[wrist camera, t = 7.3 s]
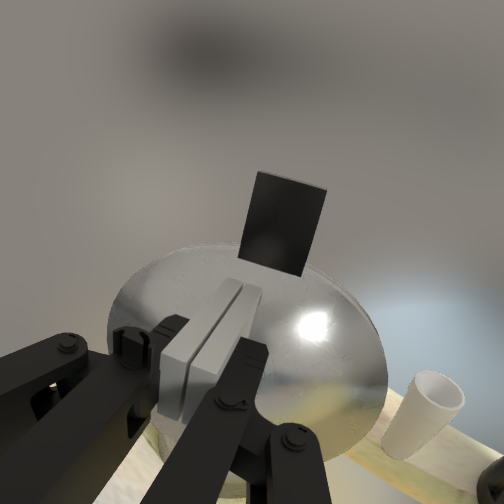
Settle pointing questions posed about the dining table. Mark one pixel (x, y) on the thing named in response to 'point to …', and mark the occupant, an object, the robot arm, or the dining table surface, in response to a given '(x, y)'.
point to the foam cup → (422, 413)
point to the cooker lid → (276, 317)
